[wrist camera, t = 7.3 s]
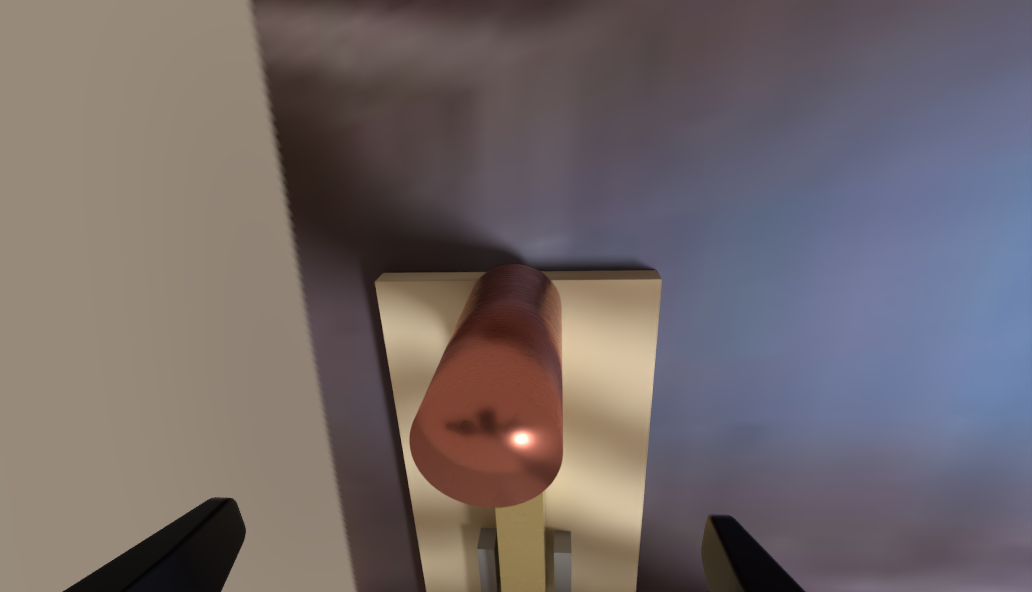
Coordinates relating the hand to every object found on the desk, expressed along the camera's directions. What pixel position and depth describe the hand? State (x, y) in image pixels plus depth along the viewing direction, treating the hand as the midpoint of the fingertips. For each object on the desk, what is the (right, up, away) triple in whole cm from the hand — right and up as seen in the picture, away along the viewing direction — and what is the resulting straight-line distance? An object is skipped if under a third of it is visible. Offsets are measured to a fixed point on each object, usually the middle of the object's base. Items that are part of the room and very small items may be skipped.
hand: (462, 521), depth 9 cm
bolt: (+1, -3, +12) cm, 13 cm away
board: (+2, -7, +15) cm, 17 cm away
